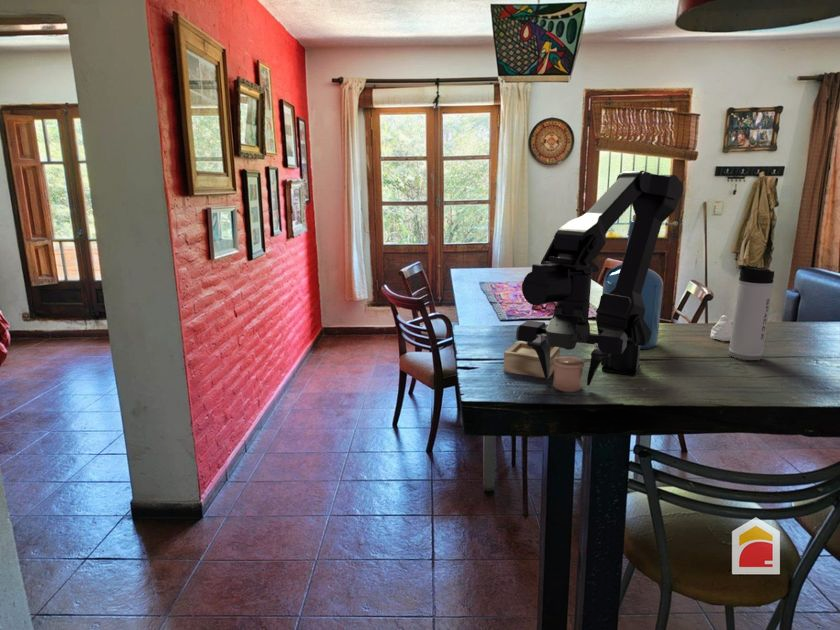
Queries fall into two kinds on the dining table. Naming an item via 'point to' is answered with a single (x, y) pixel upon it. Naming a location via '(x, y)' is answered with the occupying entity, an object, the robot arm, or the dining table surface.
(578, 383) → the terracotta cup
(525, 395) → the dining table surface
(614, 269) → the blue bottle
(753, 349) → the travel mug
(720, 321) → the garlic bulb
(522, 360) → the oak riser block
